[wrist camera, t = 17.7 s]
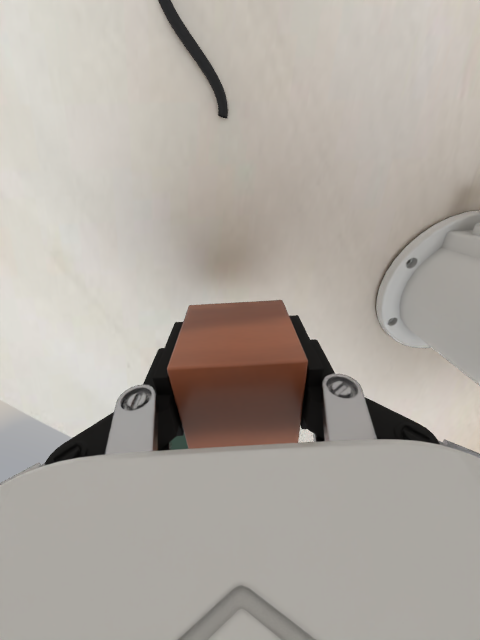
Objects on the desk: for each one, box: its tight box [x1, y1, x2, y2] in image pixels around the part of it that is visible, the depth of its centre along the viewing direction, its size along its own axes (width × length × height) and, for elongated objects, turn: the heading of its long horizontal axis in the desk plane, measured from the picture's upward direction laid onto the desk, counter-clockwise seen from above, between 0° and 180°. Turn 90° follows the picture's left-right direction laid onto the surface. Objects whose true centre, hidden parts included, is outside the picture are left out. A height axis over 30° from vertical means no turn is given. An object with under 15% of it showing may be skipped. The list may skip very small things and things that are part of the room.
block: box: [167, 300, 308, 449], centre depth 10 cm, size 4×4×4 cm
